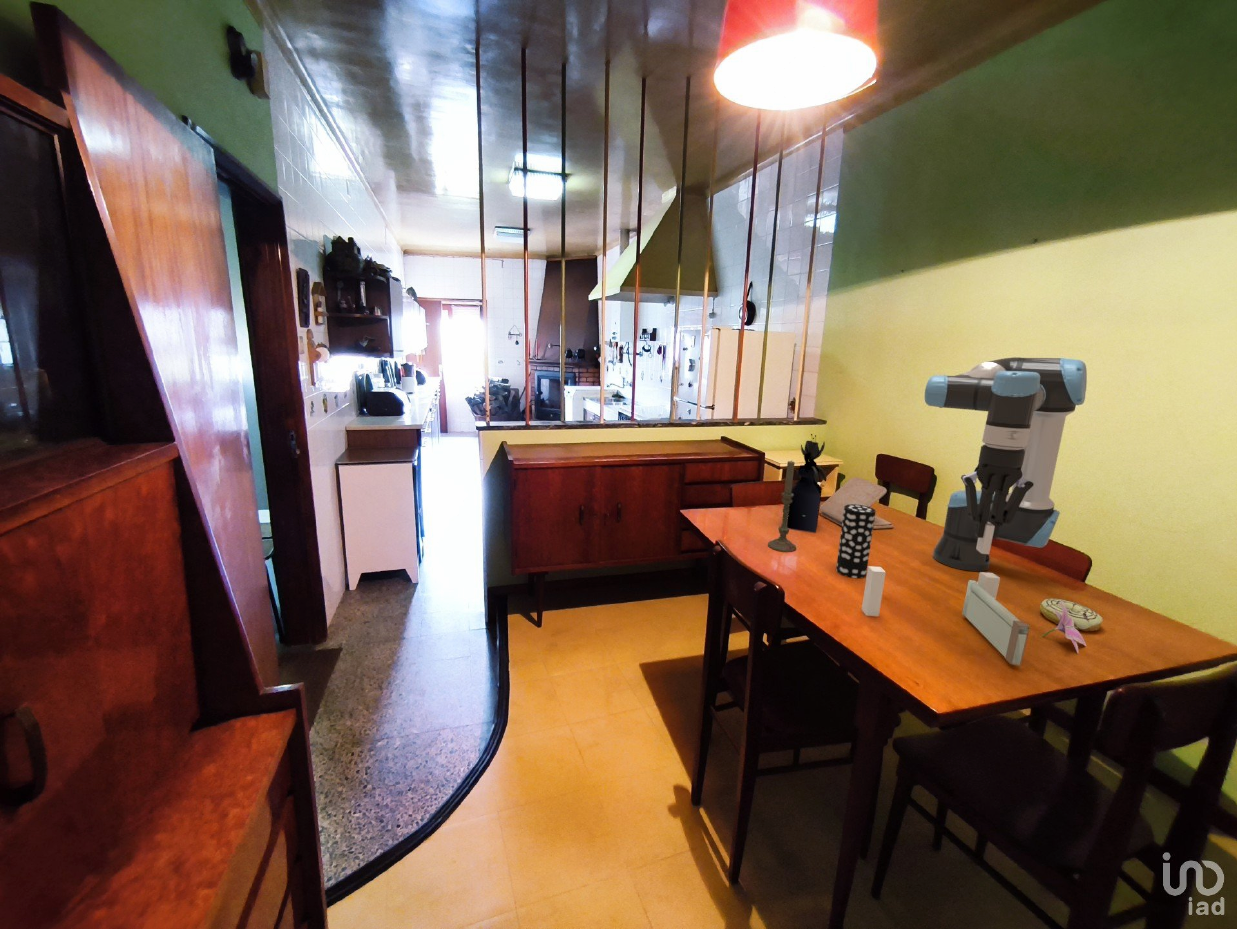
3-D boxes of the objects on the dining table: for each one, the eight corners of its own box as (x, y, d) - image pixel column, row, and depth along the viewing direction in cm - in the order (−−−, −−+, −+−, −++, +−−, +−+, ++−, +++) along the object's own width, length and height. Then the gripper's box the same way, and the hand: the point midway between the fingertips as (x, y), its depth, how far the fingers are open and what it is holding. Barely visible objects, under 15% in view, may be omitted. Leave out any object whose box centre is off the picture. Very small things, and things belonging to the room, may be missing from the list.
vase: (819, 536, 183) (830, 439, 176) (785, 530, 188) (795, 436, 180) (821, 524, 196) (832, 434, 188) (789, 519, 201) (799, 431, 193)
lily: (1052, 658, 114) (1087, 634, 110) (1015, 618, 123) (1045, 594, 119) (1080, 664, 118) (1115, 641, 114) (1042, 625, 127) (1073, 602, 123)
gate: (960, 612, 129) (967, 579, 127) (969, 613, 129) (975, 580, 127) (1010, 664, 108) (1019, 625, 106) (1021, 665, 108) (1029, 626, 106)
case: (816, 514, 209) (820, 476, 206) (862, 512, 213) (867, 475, 210) (846, 531, 190) (852, 489, 186) (896, 529, 194) (903, 488, 190)
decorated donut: (1091, 639, 121) (1095, 623, 120) (1031, 617, 131) (1035, 602, 130) (1105, 625, 128) (1109, 610, 127) (1047, 606, 137) (1051, 592, 136)
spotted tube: (869, 579, 149) (879, 514, 145) (839, 576, 151) (847, 511, 146) (862, 568, 157) (871, 505, 153) (833, 565, 159) (841, 503, 154)
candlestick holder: (781, 553, 166) (791, 463, 160) (762, 544, 174) (770, 457, 167) (802, 549, 170) (812, 461, 164) (782, 540, 178) (791, 455, 172)
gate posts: (983, 616, 130) (992, 572, 127) (990, 623, 127) (1000, 578, 124) (861, 609, 131) (868, 566, 129) (866, 615, 128) (873, 571, 126)
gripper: (975, 447, 105) (955, 554, 111) (1049, 451, 102) (1025, 561, 108) (961, 441, 112) (943, 542, 118) (1029, 445, 109) (1008, 548, 115)
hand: (982, 551), depth 113 cm, fingers closed
